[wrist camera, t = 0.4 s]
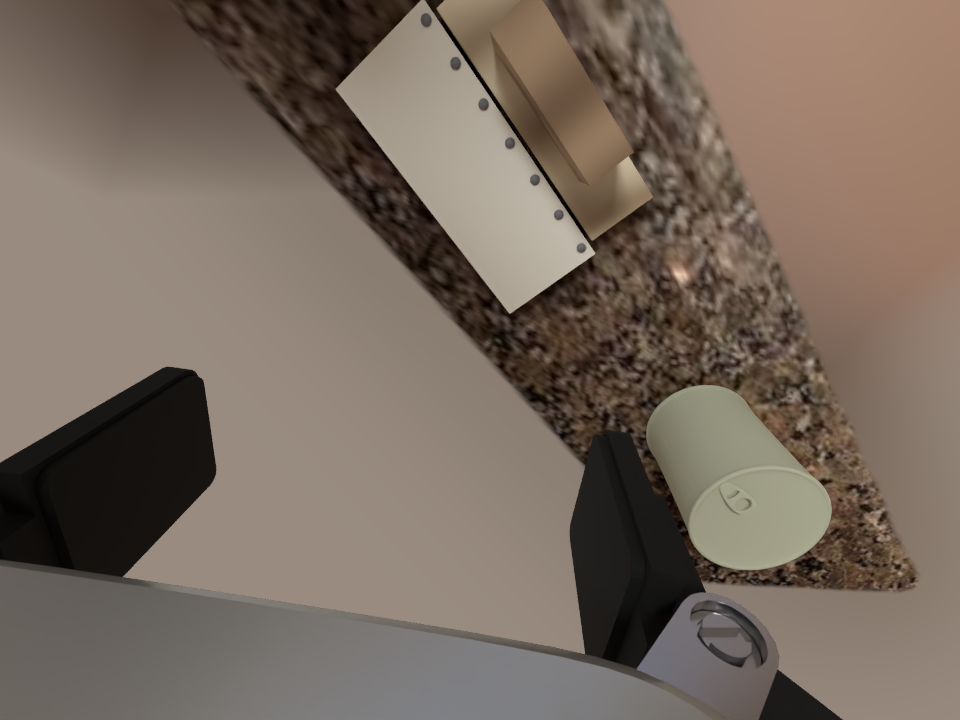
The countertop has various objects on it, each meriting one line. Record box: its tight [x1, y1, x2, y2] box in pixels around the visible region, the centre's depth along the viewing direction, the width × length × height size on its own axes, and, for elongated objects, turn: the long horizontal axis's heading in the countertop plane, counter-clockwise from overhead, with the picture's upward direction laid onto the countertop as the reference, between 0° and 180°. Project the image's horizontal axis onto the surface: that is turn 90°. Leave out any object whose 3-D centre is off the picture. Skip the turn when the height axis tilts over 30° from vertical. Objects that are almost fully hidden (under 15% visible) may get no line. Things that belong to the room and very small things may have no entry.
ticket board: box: [336, 0, 595, 314], centre depth 33 cm, size 20×8×2 cm, turn 38°
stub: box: [436, 0, 653, 241], centre depth 29 cm, size 18×5×6 cm, turn 38°
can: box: [646, 385, 832, 570], centre depth 36 cm, size 9×9×12 cm
